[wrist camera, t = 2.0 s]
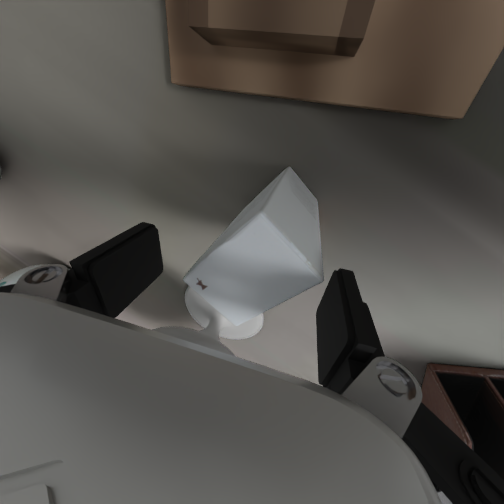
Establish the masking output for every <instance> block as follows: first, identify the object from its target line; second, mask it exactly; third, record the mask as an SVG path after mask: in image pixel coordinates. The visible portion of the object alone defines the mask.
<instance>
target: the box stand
mask: <svg viewBox="0 0 504 504" xmlns="http://www.w3.org/2000/svg"><path fill="white" fill-rule="evenodd" d="M165 3H166V16H167V30H168V43H169V56H170V69H171V83H173V84H176V85H180V86H187V87H195V88H203V89H211V90H219V91H227V92H235V93H243V94H251V95H260V96H268V97H276V98H284V99H292V100H300V101H308V102H316V103H324V104H333V105H341V106H349V107H357V108H365V109H373V110H381V111H389V112H397V113H406V114H414V115H422V116H430V117H438V118H446V119H461V118H463V117H464V115H465V113H466V112H467V110H468V108H469V106H470V105H471V103H472V101H473V99H474V98H475V96H476V94H477V93H478V91H479V89H480V87H481V86H482V84H483V82H484V80H485V79H486V77H487V75H488V74H489V72H490V70H491V68H492V67H493V65H494V63H495V61H496V60H497V58H498V56H499V55H500V53H501V51H502V49H503V48H504V0H165Z"/></svg>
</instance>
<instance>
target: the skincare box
mask: <svg viewBox="0 0 504 504" xmlns="http://www.w3.org/2000/svg"><path fill="white" fill-rule="evenodd" d="M183 281H184V282H185V283H186V284H187V285H189V286H190V287H191V288H192V289H193V290H194V291H196V292H197V293H198V294H199V295H200V296H201V297H202V298H204V299H205V300H206V301H207V302H208V303H209V304H210V305H211V306H213V307H214V308H215V309H216V310H217V311H218V312H219V313H220V314H222V315H223V316H224V317H225V318H226V319H227V320H229V321H230V322H231V323H232V324H234V325H235V326H239V325H240V324H242V323H244V322H246V321H248V320H250V319H252V318H254V317H256V316H258V315H260V314H262V313H264V312H265V311H267V310H269V309H271V308H273V307H275V306H277V305H279V304H280V303H282V302H284V301H286V300H288V299H290V298H292V297H294V296H296V295H298V294H300V293H302V292H304V291H305V290H307V289H309V288H311V287H313V286H315V285H317V284H320V283H322V282H323V281H324V276H323V263H322V250H321V237H320V224H319V210H318V200H317V199H316V198H315V196H314V195H313V194H312V193H311V192H310V190H309V189H308V188H307V187H306V185H305V184H304V183H303V182H302V180H301V179H300V178H299V177H298V175H297V174H296V173H295V172H294V171H293V169H292V168H291V167H290V166H288V167H287V168H286V169H285V170H284V171H283V172H282V173H280V174H279V175H278V176H277V177H276V178H275V179H274V180H273V181H272V182H271V183H270V184H269V185H268V186H267V187H266V188H265V189H263V190H262V191H261V192H260V193H259V194H258V195H257V196H256V197H255V198H254V199H253V200H252V201H251V202H250V203H249V204H248V205H247V206H246V207H245V208H244V209H243V210H242V211H241V212H240V213H239V215H238V216H237V217H236V218H235V219H234V220H233V221H232V223H231V224H230V225H229V226H228V227H227V228H226V229H225V231H224V232H223V233H222V234H221V235H220V236H219V237H218V238H217V240H216V241H215V242H214V243H213V244H212V245H211V246H210V247H209V249H208V250H207V251H206V252H205V253H204V254H203V255H202V256H201V257H200V258H199V259H198V261H197V262H196V263H195V264H194V265H193V266H192V268H191V269H190V270H189V271H188V272H187V274H186V275H185V276H184V278H183Z"/></svg>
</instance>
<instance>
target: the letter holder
mask: <svg viewBox="0 0 504 504" xmlns="http://www.w3.org/2000/svg"><path fill="white" fill-rule="evenodd" d="M421 390H422V395H423V396H422V401H421V402H422V403H423V404H424V405H425V406H426V407H427V408H428V409H429V410H431V411H432V412H433V413H434V414H435V415H436V416H437V417H438V418H439V419H440V420H441V421H442V422H443V423H444V424H445V425H446V426H448V427H449V428H450V429H451V430H452V431H453V432H454V433H455V434H456V435H457V436H458V437H459V438H460V439H461V440H462V441H463V442H465V443H466V444H467V445H468V446H469V447H470V448H471V449H472V450H473V451H474V452H475V453H476V454H477V455H478V456H479V457H480V458H481V459H483V460H484V461H485V462H486V463H487V464H488V465H489V466H490V467H491V468H492V469H493V470H494V471H495V472H496V473H497V474H498V475H499V476H500V477H501V478H502V479H503V480H504V370H502V369H491V368H480V367H468V366H457V365H446V364H435V363H428V364H427V368H426V371H425V376H424V380H423V384H422V388H421Z"/></svg>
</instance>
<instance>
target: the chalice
mask: <svg viewBox="0 0 504 504" xmlns="http://www.w3.org/2000/svg"><path fill="white" fill-rule="evenodd" d="M185 304H186V307H187V309H188V311H189V313H190V314H191V316H192V317H193V319H194V320H195V321H196V322H197V323H198V324H199V325H200V326H202V327H203V328H204V329H203V330H201V331H197V330H193V329H190V328H184V327H172V326H171V327H160V328H156V329H152V330H153V331H157V332H160V333H163V334H166V335H169V336H173V337H176V338H179V339H182V340H185V341H188V342H191V343H195V344H198V345H201V346H204V347H207V348H210V349H213V350H217V351H220V352H223V353H226V354H229V355H232V356H235V355H234V354H233V353H232V352H231V351H230V350H229V349H228V348H227V347H226V346H224V345H223V344H222V343H221V342H220V339H219V336H220V337H223V338H227V339H234V340H237V339H246V338H250V337H252V336H254V335H256V334H257V333H258V332H259V331H260V330H261V328H262V326H263V323H264V315H263V313H262V314H260V315H258V316H256V317H254V318H252V319H250V320H248V321H246V322H244V323H242V324H240V325H239V326H235V325H234V324H232V323H231V322H230V321H229V320H227V319H226V318H225V317H224V316H223V315H222V314H220V313H219V312H218V311H217V310H216V309H215V308H214V307H213V306H211V305H210V304H209V303H208V302H207V301H206V300H205V299H204V298H202V297H201V296H200V295H199V294H198V293H197V292H196V291H194V290H193V289H192V288H191V287H190V286H188V287H187V289H186V292H185ZM235 357H236V356H235Z"/></svg>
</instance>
